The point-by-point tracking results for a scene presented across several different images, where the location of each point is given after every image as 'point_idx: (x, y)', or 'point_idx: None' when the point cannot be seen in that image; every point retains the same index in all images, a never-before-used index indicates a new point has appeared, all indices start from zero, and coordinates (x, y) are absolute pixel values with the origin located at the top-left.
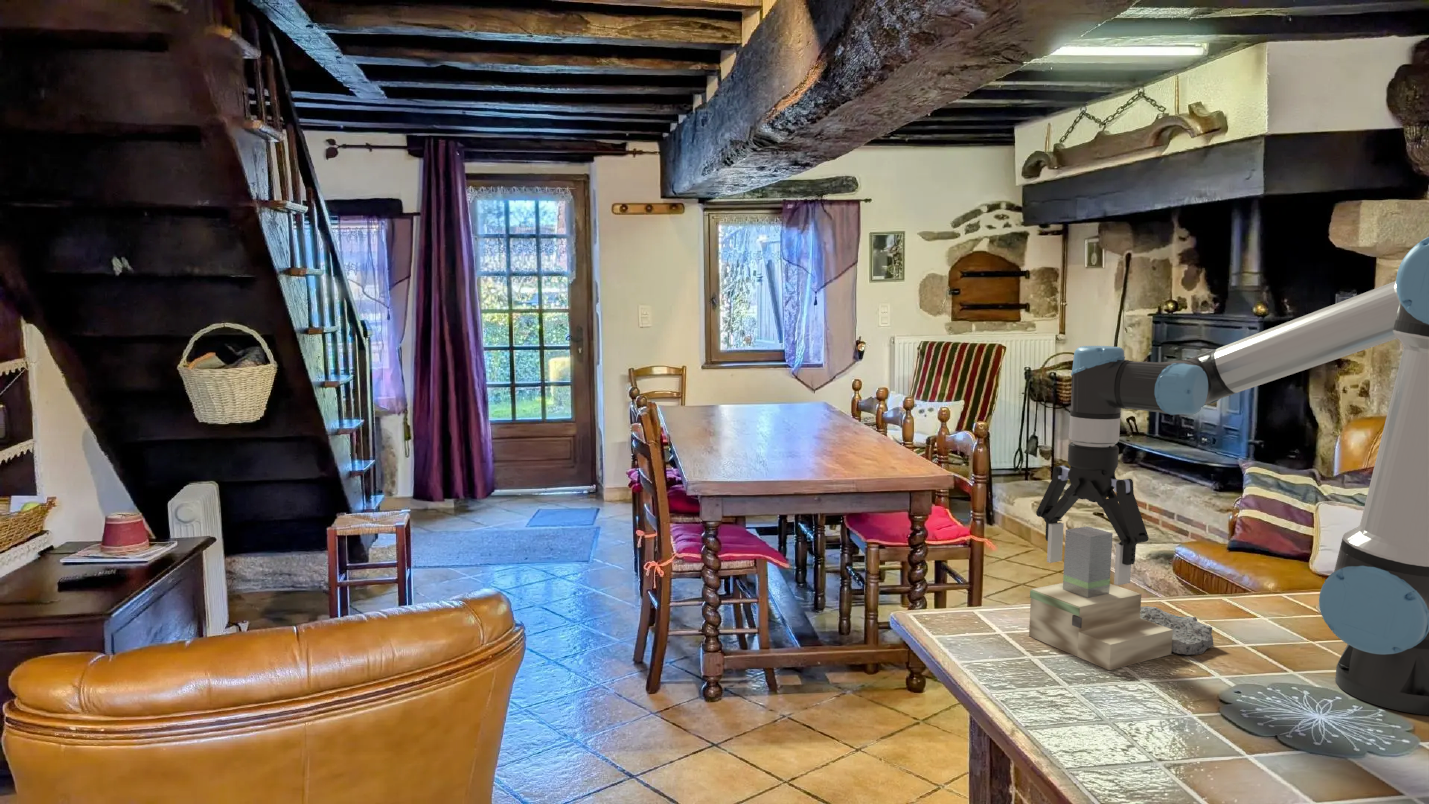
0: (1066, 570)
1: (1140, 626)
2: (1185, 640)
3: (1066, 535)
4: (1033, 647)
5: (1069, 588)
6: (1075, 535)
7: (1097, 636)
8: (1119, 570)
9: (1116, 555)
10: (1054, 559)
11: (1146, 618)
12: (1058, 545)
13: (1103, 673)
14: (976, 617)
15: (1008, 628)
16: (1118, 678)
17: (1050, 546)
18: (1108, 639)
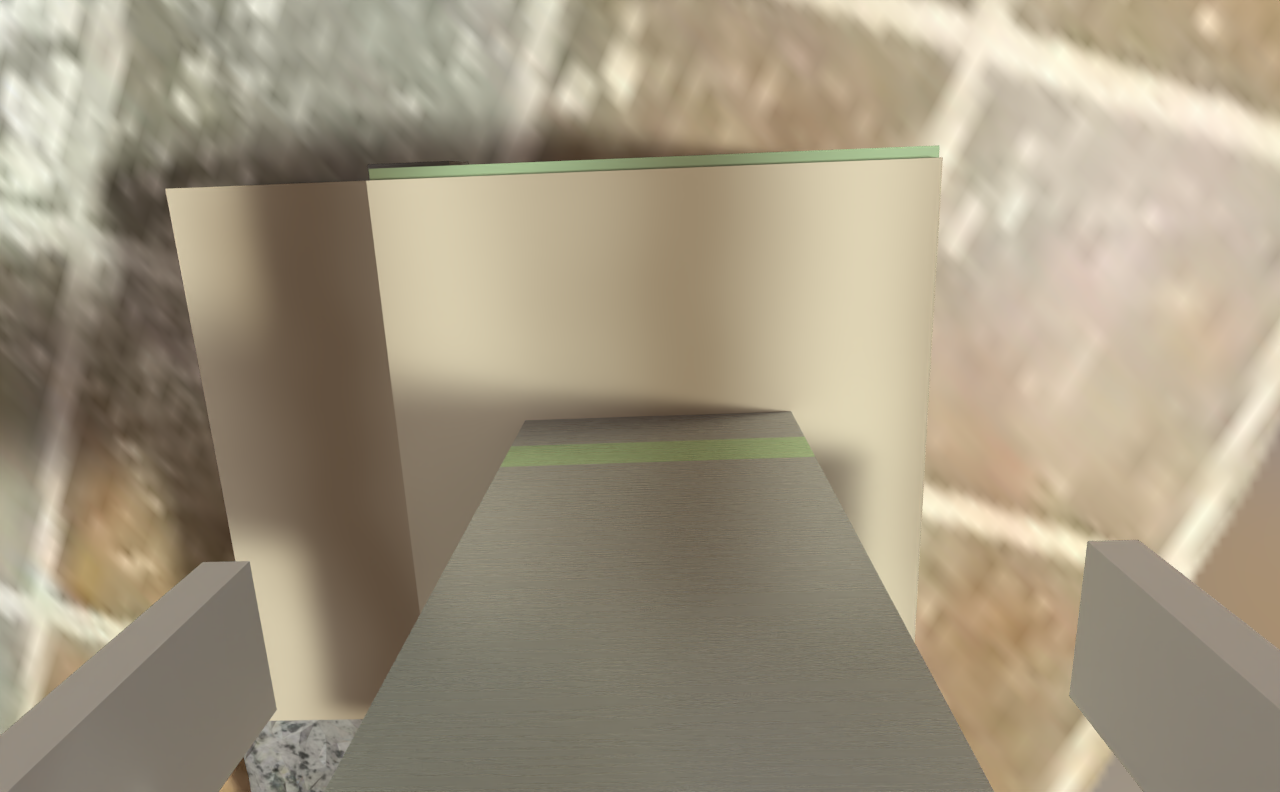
0: (789, 479)
1: (367, 608)
2: (289, 746)
3: (940, 741)
4: (690, 43)
5: (720, 422)
6: (711, 779)
7: (315, 229)
8: (104, 655)
9: (13, 770)
10: (1097, 614)
11: None
12: (1188, 770)
13: (229, 122)
14: (1268, 90)
15: (1006, 141)
16: (148, 144)
17: (1219, 647)
18: (249, 254)
